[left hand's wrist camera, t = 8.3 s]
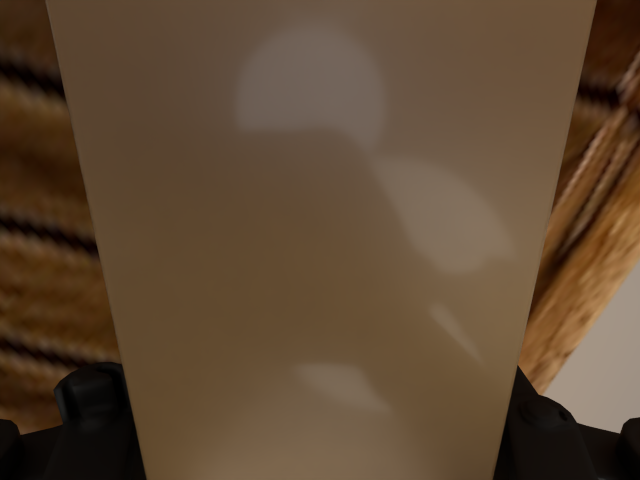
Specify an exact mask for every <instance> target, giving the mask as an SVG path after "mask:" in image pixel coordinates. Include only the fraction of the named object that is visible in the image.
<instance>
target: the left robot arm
mask: <svg viewBox="0 0 640 480" xmlns="http://www.w3.org/2000/svg"><path fill="white" fill-rule="evenodd" d="M53 391H54V394H55V397H56V401H57V404H58V407H59V411H60V414H61V417H62V421H63V425H60V426H57V427H53V428H49V429H45V430H41V431H37V432H32V433H28V434H24V435H20V432H19V430H18V427H17V425H16V424H14V423H13V422H12V421H11V420H4V419H0V480H147V479H146V474H145V469H144V465H143V460H142V455H141V450H140V446H139V441H138V436H137V431H136V427H135V422H134V417H133V413H132V408H131V403H130V398H129V394H128V389H127V384H126V379H125V375H124V370H123V365H121V364H118V363H114V362H100V363H95V364H91V365H88V366H84V367H82V368H80V369H78V370H76V371H74V372H71V373H70V374H69V375H67V376H66V377H65V378H63V379H62V380H61V381H60V382H59V383H58V384H57V386H56V387H55V389H54V390H53ZM493 480H640V417H639V418H632V419H629V420H628V421H627V422H625V423H624V424H623V427H622V430H621V433H620V434H619V433H615V432H611V431H606V430H602V429H598V428H594V427H589V426H586V425H582V424H579V423H577V422H576V421H575V419H574V417H573V416H572V414H571V413H570V412H569V411H568V410H566V409H565V408H564V407H563V406H562V405H561V404H559V403H557V402H555V401H553V400H552V399H550V398H548V397H545V396H541V395H538V393H537V392H536V390H535V389H534V388H533V386H532V385H531V383H530V382H529V380H528V379H527V378H526V376H525V375H524V373H523V372H522V370H521V369H520V368H519V366H518V365H517V370H516V375H515V379H514V384H513V388H512V393H511V398H510V402H509V407H508V411H507V416H506V421H505V425H504V430H503V434H502V439H501V444H500V448H499V453H498V457H497V462H496V467H495V471H494V476H493Z"/></svg>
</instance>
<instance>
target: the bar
mask: <svg viewBox="0 0 640 480" xmlns="http://www.w3.org/2000/svg"><path fill="white" fill-rule="evenodd" d="M45 2H46V6H47V11H48V16H49V20H50V25H51V30H52V35H53V39H54V44H55V49H56V53H57V58H58V63H59V68H60V72H61V77H62V82H63V87H64V91H65V96H66V101H67V105H68V110H69V115H70V120H71V124H72V129H73V134H74V139H75V143H76V148H77V153H78V157H79V162H80V167H81V172H82V176H83V181H84V186H85V190H86V195H87V200H88V205H89V209H90V214H91V219H92V224H93V228H94V233H95V238H96V242H97V247H98V252H99V257H100V261H101V266H102V271H103V276H104V280H105V285H106V290H107V294H108V299H109V304H110V309H111V313H112V318H113V323H114V328H115V332H116V337H117V342H118V346H119V351H120V356H121V361H122V365H123V370H124V375H125V379H126V384H127V389H128V394H129V398H130V403H131V408H132V413H133V417H134V422H135V427H136V431H137V436H138V441H139V446H140V450H141V455H142V460H143V465H144V469H145V474H146V479H147V480H493V476H494V471H495V467H496V462H497V457H498V453H499V448H500V444H501V439H502V434H503V430H504V425H505V421H506V416H507V411H508V407H509V402H510V398H511V393H512V388H513V384H514V379H515V375H516V370H517V365H518V361H519V356H520V352H521V347H522V342H523V338H524V333H525V329H526V324H527V319H528V315H529V310H530V306H531V301H532V296H533V292H534V287H535V283H536V278H537V273H538V269H539V264H540V260H541V255H542V250H543V246H544V241H545V237H546V232H547V227H548V223H549V218H550V214H551V209H552V204H553V200H554V195H555V191H556V186H557V181H558V177H559V172H560V168H561V163H562V158H563V154H564V149H565V145H566V140H567V135H568V131H569V126H570V122H571V117H572V112H573V108H574V103H575V99H576V94H577V89H578V85H579V80H580V76H581V71H582V66H583V62H584V57H585V53H586V48H587V43H588V39H589V34H590V30H591V25H592V20H593V16H594V11H595V7H596V2H597V0H45Z"/></svg>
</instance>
